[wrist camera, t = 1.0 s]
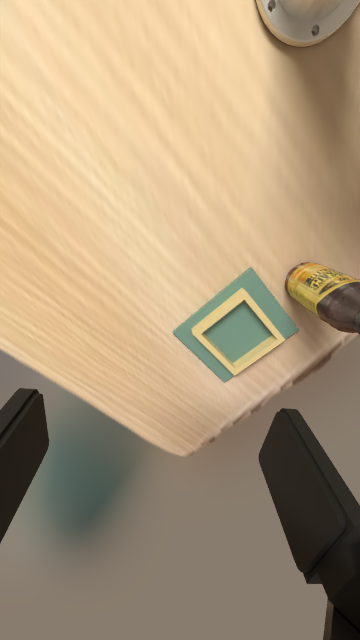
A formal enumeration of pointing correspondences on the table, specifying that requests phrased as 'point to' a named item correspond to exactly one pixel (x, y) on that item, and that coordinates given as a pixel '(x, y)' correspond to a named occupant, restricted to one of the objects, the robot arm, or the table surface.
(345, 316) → the sauce bottle
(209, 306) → the teal board with frame
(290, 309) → the table surface
